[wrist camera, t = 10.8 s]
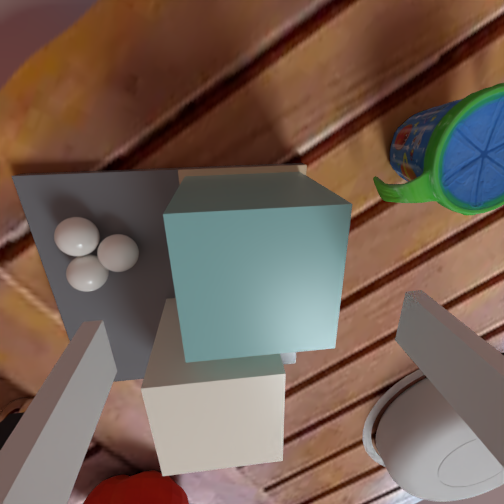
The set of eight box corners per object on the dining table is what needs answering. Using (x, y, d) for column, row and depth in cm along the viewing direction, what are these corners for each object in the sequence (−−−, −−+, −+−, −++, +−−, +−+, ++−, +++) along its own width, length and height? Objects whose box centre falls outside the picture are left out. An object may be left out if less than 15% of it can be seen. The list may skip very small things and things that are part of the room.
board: (89, 376, 31) (84, 386, 30) (19, 174, 22) (9, 176, 21) (293, 356, 33) (296, 365, 32) (302, 162, 24) (306, 165, 23)
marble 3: (109, 263, 25) (96, 280, 22) (101, 229, 24) (86, 243, 21) (145, 260, 25) (136, 277, 23) (139, 227, 24) (129, 241, 21)
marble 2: (81, 281, 25) (65, 300, 23) (71, 249, 24) (53, 265, 21) (117, 278, 26) (105, 297, 23) (109, 247, 24) (95, 263, 22)
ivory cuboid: (178, 371, 31) (162, 476, 22) (166, 298, 27) (140, 388, 18) (263, 362, 32) (282, 460, 22) (263, 291, 28) (285, 373, 19)
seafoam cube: (196, 278, 26) (185, 362, 17) (184, 176, 22) (162, 214, 13) (295, 271, 27) (334, 348, 18) (299, 171, 23) (352, 204, 14)
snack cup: (478, 65, 23) (588, 42, 16) (487, 158, 26) (581, 172, 19) (342, 131, 24) (392, 136, 17) (366, 214, 27) (416, 245, 20)
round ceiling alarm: (341, 384, 36) (363, 431, 31) (538, 320, 36) (598, 358, 30) (368, 488, 47) (389, 538, 41) (521, 441, 46) (563, 485, 40)
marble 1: (71, 248, 24) (52, 264, 21) (60, 213, 23) (39, 225, 20) (109, 245, 24) (95, 261, 22) (100, 210, 23) (85, 223, 20)
